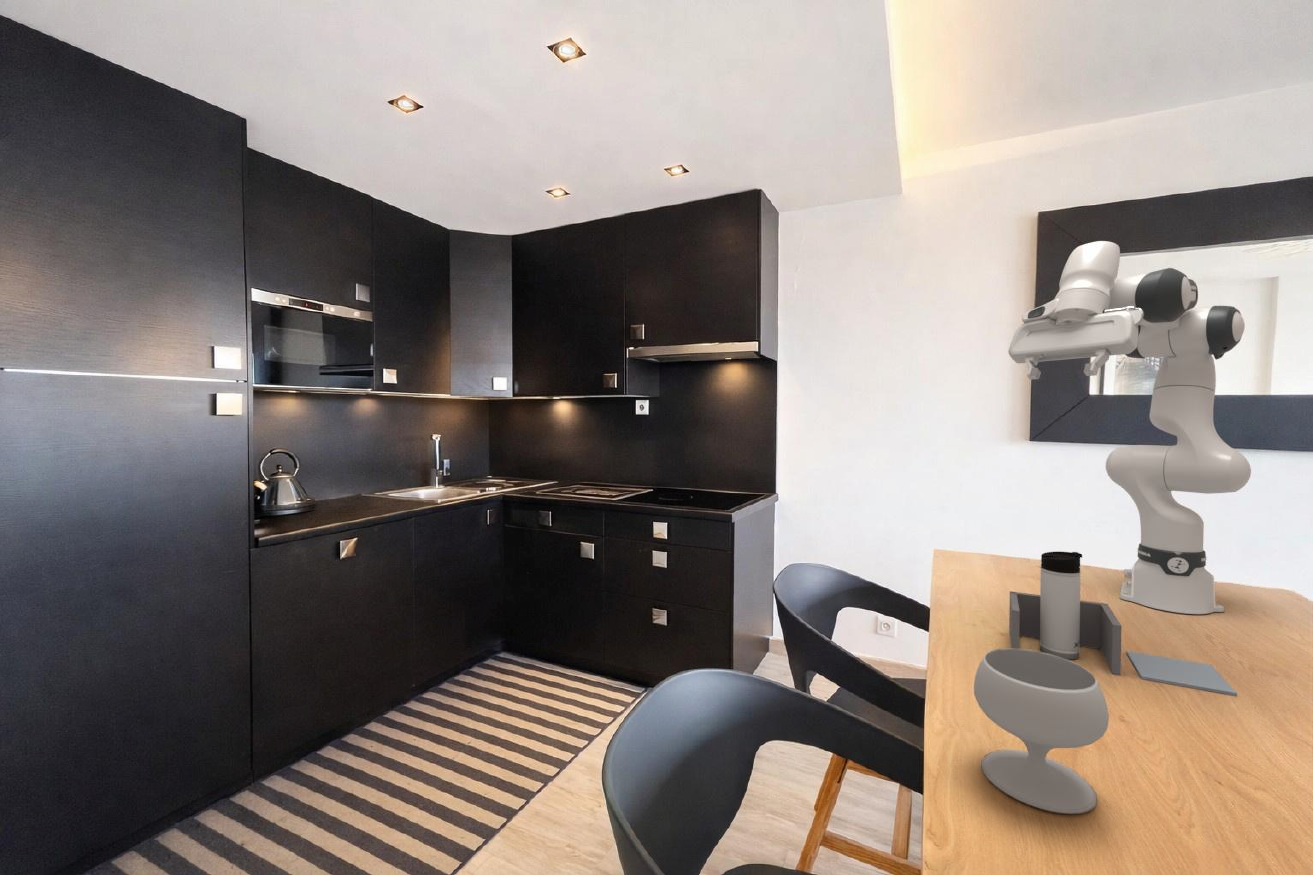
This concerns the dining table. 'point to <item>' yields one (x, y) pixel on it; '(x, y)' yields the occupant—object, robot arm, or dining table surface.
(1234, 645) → the dining table surface
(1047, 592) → the travel mug
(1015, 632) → the grey u-shaped channel
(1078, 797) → the chalice
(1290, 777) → the dining table surface
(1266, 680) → the dining table surface
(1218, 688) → the mat
